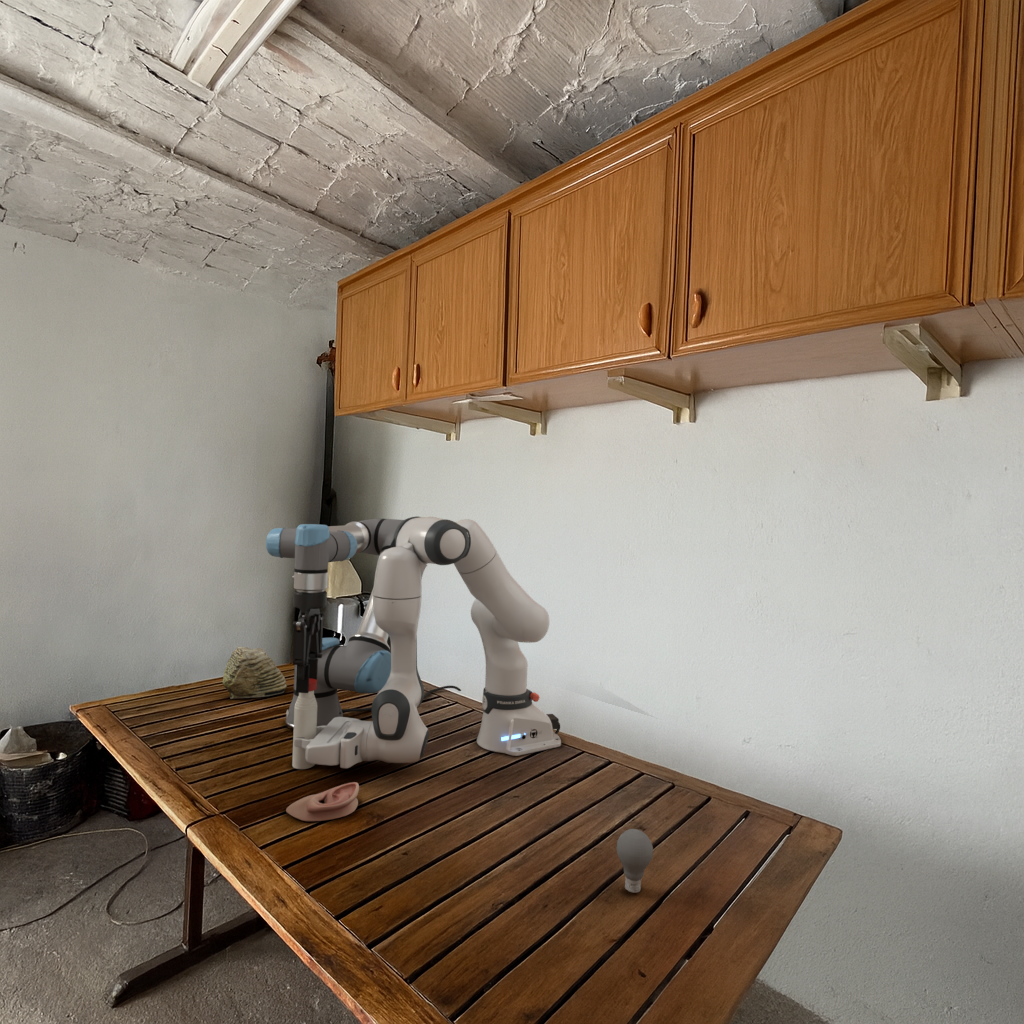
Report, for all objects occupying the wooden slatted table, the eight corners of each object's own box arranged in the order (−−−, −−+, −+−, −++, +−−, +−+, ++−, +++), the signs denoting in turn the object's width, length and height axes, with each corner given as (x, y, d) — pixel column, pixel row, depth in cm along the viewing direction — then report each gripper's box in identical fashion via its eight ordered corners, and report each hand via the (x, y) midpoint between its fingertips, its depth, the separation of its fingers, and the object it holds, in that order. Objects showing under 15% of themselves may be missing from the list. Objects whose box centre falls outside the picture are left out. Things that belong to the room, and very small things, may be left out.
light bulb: (610, 879, 108) (613, 822, 108) (644, 879, 109) (647, 822, 109) (619, 902, 102) (622, 840, 102) (655, 901, 103) (658, 840, 103)
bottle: (307, 770, 146) (310, 688, 146) (287, 767, 147) (290, 686, 147) (319, 762, 151) (322, 682, 151) (300, 758, 152) (303, 680, 152)
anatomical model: (278, 797, 124) (308, 772, 135) (277, 817, 124) (307, 791, 136) (340, 806, 122) (366, 781, 133) (339, 827, 122) (365, 799, 133)
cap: (305, 693, 146) (305, 685, 146) (292, 689, 148) (292, 681, 148) (320, 688, 150) (321, 680, 150) (307, 684, 152) (307, 677, 152)
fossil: (218, 695, 195) (220, 647, 195) (278, 685, 208) (279, 640, 207) (228, 703, 189) (230, 653, 188) (289, 692, 201) (290, 645, 201)
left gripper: (308, 584, 157) (305, 677, 158) (278, 594, 140) (274, 699, 140) (338, 586, 157) (334, 679, 157) (312, 596, 139) (308, 701, 140)
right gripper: (371, 712, 159) (317, 708, 159) (345, 743, 138) (283, 739, 139) (370, 737, 159) (316, 733, 159) (344, 772, 138) (282, 767, 139)
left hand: (306, 688), depth 149 cm, fingers closed on cap, 4 cm apart
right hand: (301, 736), depth 149 cm, fingers closed on bottle, 5 cm apart
